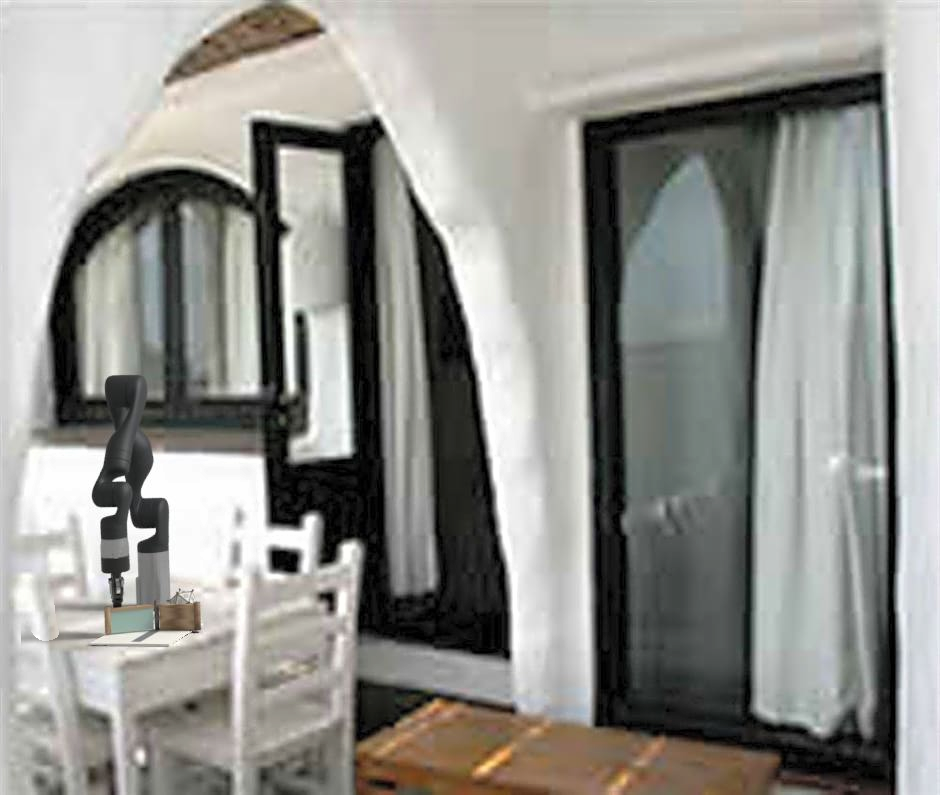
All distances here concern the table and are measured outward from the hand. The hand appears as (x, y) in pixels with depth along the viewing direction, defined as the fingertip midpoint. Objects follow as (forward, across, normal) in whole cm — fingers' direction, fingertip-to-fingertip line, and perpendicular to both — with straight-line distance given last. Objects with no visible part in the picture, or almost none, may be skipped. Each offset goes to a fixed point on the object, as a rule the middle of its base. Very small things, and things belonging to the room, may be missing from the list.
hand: (117, 616), depth 320 cm
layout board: (+4, +6, +7) cm, 11 cm away
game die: (+5, -13, +20) cm, 24 cm away
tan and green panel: (+4, +3, +3) cm, 6 cm away
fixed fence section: (+4, +6, +15) cm, 17 cm away
